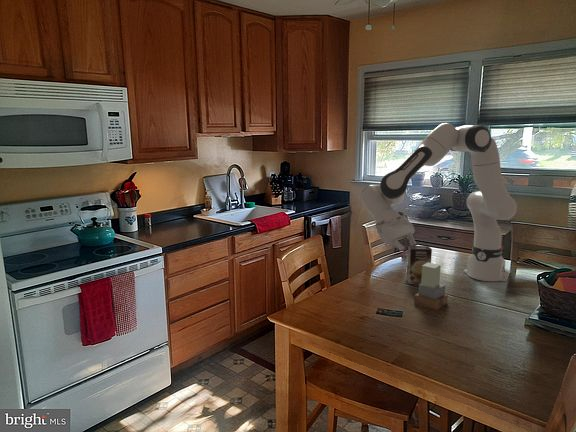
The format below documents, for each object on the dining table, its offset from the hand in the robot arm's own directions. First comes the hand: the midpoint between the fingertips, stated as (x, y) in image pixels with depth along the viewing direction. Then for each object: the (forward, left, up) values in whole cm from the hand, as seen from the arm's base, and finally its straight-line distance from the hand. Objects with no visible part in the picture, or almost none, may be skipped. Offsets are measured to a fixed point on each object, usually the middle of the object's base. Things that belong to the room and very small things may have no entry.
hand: (408, 247), depth 162 cm
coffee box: (-19, -5, -21) cm, 29 cm away
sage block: (0, +10, -13) cm, 17 cm away
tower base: (0, +10, -21) cm, 24 cm away
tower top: (-1, +10, -17) cm, 20 cm away
